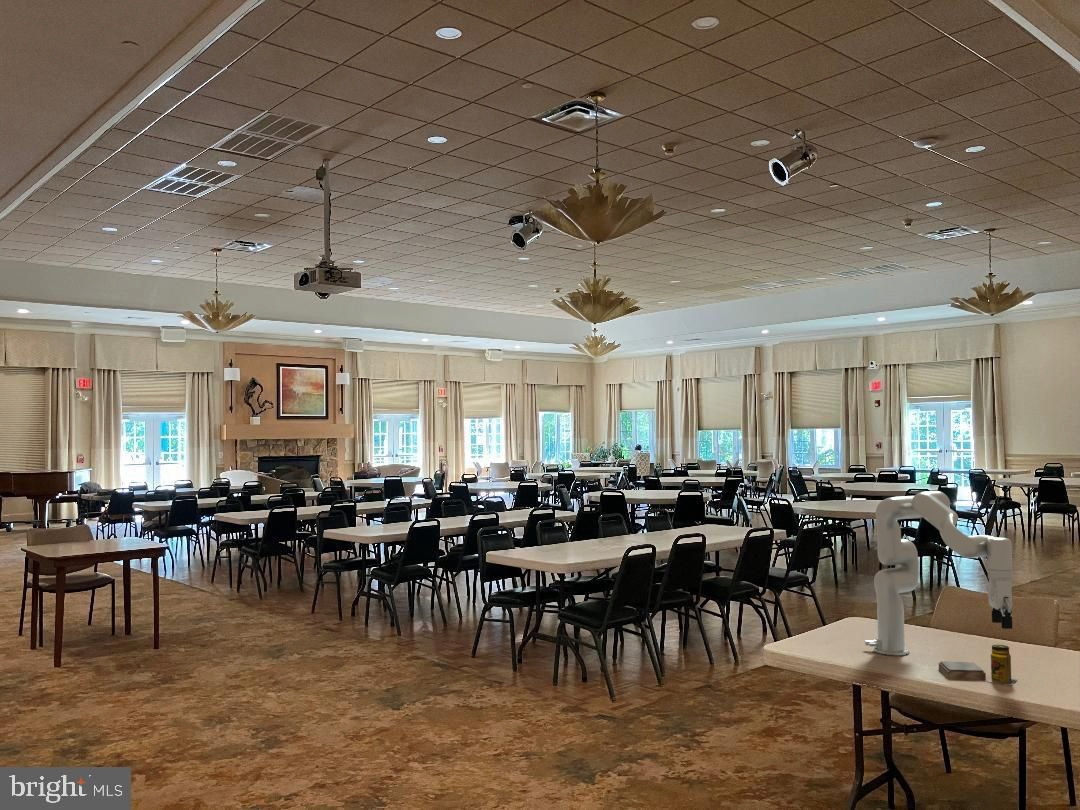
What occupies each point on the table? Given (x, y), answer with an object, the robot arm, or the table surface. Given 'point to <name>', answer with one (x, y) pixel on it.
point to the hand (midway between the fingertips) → (1002, 625)
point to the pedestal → (962, 670)
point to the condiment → (1001, 665)
